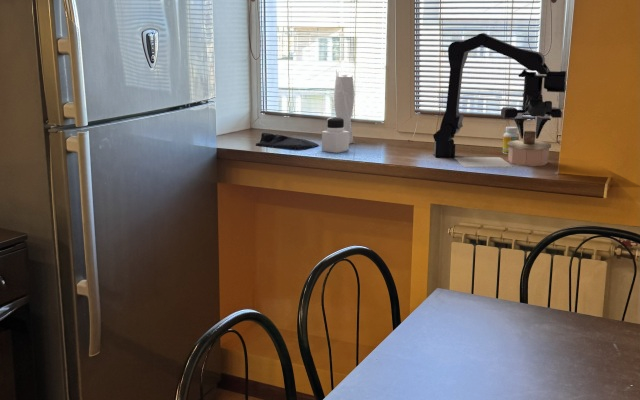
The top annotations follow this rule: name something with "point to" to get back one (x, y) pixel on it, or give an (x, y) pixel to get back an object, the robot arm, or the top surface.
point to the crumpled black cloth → (284, 142)
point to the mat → (482, 162)
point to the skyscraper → (344, 100)
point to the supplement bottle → (509, 138)
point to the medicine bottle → (335, 136)
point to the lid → (529, 142)
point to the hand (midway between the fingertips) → (529, 138)
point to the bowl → (528, 157)
